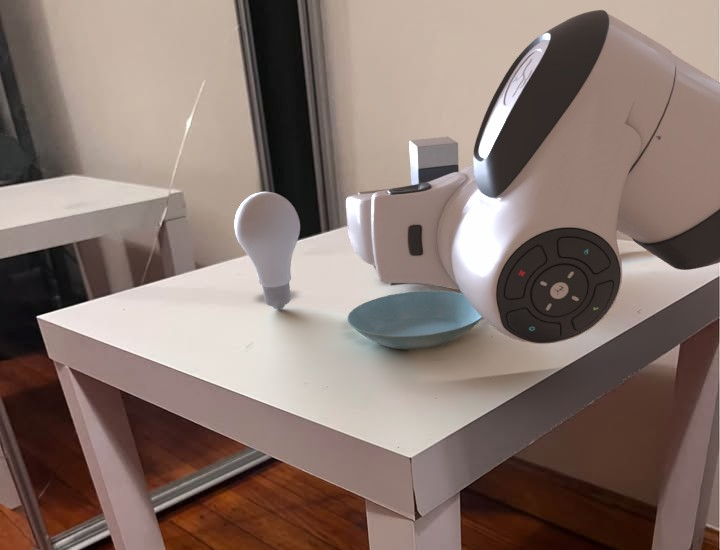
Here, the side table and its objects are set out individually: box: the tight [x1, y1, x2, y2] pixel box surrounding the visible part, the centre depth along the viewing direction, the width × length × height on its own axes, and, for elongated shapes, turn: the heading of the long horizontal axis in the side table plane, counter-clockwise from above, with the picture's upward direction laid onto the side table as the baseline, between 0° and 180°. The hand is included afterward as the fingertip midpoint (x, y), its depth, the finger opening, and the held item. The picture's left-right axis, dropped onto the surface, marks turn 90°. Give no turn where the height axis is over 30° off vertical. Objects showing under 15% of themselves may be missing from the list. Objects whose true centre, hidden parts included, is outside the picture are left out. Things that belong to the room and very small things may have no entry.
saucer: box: [346, 290, 484, 351], centre depth 65 cm, size 12×12×2 cm
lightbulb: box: [233, 191, 301, 310], centre depth 73 cm, size 6×6×11 cm
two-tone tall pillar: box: [408, 136, 460, 185], centre depth 78 cm, size 4×5×11 cm
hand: (453, 194), depth 68 cm, fingers open, 8 cm apart
